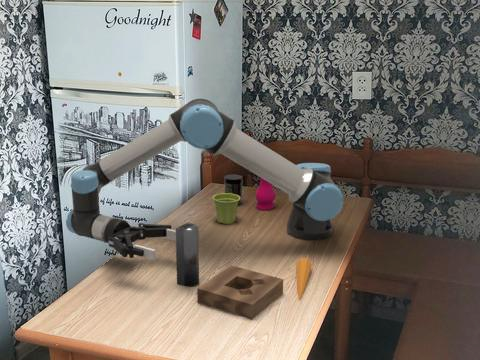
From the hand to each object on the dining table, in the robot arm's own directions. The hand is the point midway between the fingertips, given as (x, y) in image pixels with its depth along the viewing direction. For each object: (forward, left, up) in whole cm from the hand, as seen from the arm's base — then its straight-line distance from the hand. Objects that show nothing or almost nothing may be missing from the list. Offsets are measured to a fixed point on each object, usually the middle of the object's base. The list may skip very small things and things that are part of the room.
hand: (170, 246), depth 161 cm
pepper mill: (-37, -54, -10) cm, 66 cm away
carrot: (-34, +8, -10) cm, 37 cm away
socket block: (-17, +14, -9) cm, 24 cm away
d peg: (-5, +3, -9) cm, 11 cm away
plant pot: (-21, -42, -10) cm, 47 cm away
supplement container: (-26, -60, -10) cm, 66 cm away
